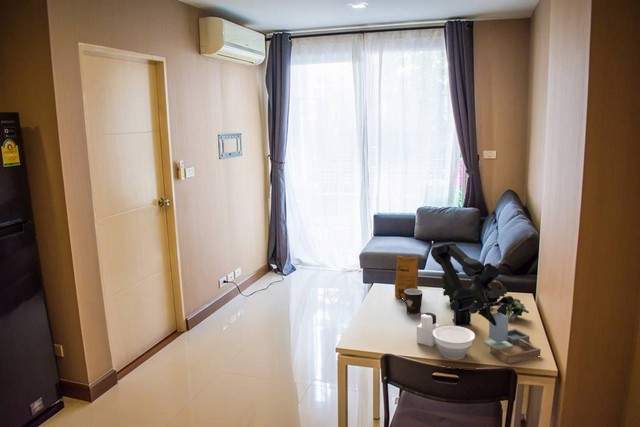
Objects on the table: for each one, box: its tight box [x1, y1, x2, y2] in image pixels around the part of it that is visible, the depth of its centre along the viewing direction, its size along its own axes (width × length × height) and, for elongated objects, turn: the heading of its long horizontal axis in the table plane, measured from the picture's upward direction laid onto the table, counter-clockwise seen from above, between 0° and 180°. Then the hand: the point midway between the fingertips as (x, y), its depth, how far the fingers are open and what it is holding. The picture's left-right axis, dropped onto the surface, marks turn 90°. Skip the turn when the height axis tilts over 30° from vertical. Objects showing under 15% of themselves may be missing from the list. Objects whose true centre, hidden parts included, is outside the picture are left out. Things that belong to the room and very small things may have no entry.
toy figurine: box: [441, 268, 497, 304], centre depth 242 cm, size 9×19×25 cm
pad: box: [483, 339, 514, 350], centre depth 199 cm, size 8×8×1 cm
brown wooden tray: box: [489, 339, 542, 365], centre depth 189 cm, size 10×15×3 cm
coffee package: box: [394, 255, 419, 300], centre depth 255 cm, size 10×12×22 cm
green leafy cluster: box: [506, 297, 530, 323], centre depth 223 cm, size 11×11×12 cm
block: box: [488, 312, 509, 343], centre depth 197 cm, size 5×5×10 cm
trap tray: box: [506, 328, 530, 346], centre depth 203 cm, size 8×8×2 cm
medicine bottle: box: [416, 312, 441, 348], centre depth 202 cm, size 7×7×12 cm
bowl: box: [433, 325, 476, 361], centre depth 191 cm, size 16×16×9 cm
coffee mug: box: [399, 288, 424, 315], centre depth 237 cm, size 12×9×10 cm
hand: (501, 324), depth 196 cm, fingers closed on block, 5 cm apart
